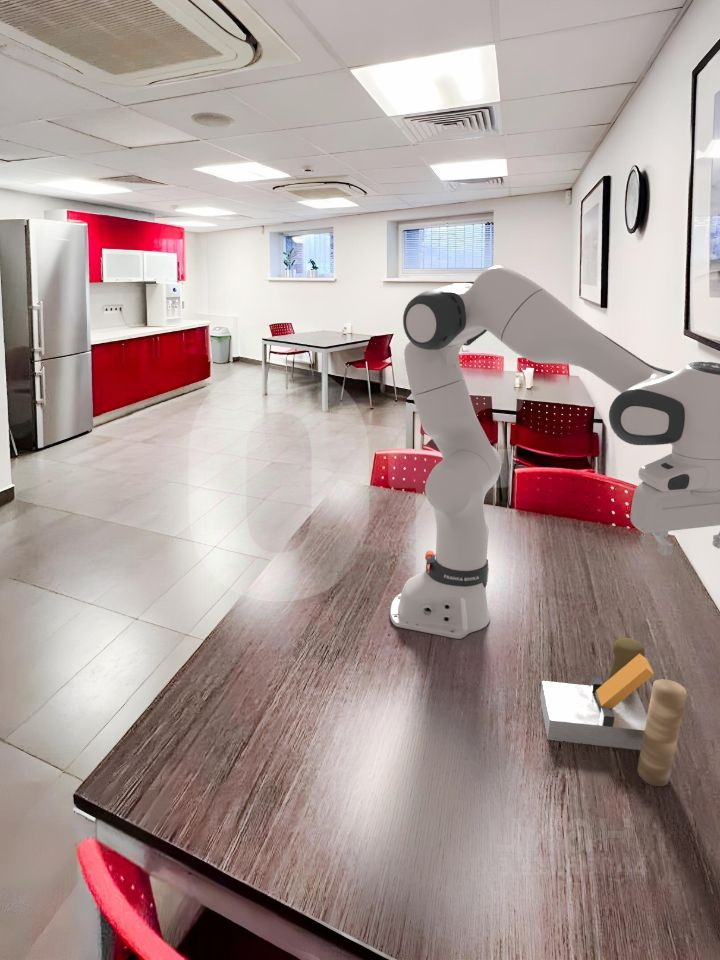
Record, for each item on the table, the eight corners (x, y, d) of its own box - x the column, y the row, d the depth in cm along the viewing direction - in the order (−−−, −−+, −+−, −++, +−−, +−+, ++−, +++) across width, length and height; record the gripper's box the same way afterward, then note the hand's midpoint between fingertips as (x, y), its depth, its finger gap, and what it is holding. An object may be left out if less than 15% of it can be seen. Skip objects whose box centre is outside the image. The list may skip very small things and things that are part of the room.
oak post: (641, 784, 88) (658, 697, 83) (633, 762, 92) (649, 677, 87) (672, 788, 88) (691, 700, 82) (663, 765, 92) (680, 680, 86)
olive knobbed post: (598, 683, 110) (605, 633, 107) (628, 681, 111) (637, 631, 107) (613, 705, 105) (622, 653, 101) (646, 703, 105) (655, 651, 101)
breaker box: (547, 739, 97) (551, 710, 95) (540, 699, 106) (543, 671, 104) (650, 751, 94) (655, 721, 92) (633, 708, 104) (638, 680, 102)
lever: (598, 709, 97) (646, 669, 93) (592, 692, 101) (639, 652, 97) (605, 715, 97) (654, 675, 93) (599, 697, 101) (646, 658, 97)
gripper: (751, 456, 94) (739, 535, 98) (628, 469, 93) (622, 548, 97) (781, 468, 88) (767, 551, 93) (651, 482, 87) (643, 565, 91)
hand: (692, 550), depth 95 cm, fingers open, 8 cm apart
